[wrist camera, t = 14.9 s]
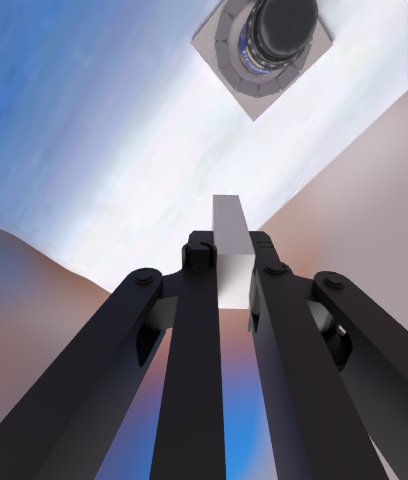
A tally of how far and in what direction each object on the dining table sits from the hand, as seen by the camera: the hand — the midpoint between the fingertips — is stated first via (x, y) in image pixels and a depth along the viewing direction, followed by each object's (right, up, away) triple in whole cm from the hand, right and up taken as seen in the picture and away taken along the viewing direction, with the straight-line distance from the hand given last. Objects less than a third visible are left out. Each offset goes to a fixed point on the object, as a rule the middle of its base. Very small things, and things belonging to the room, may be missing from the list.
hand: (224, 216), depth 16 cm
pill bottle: (+6, +22, +15) cm, 27 cm away
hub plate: (+6, +22, +15) cm, 28 cm away
